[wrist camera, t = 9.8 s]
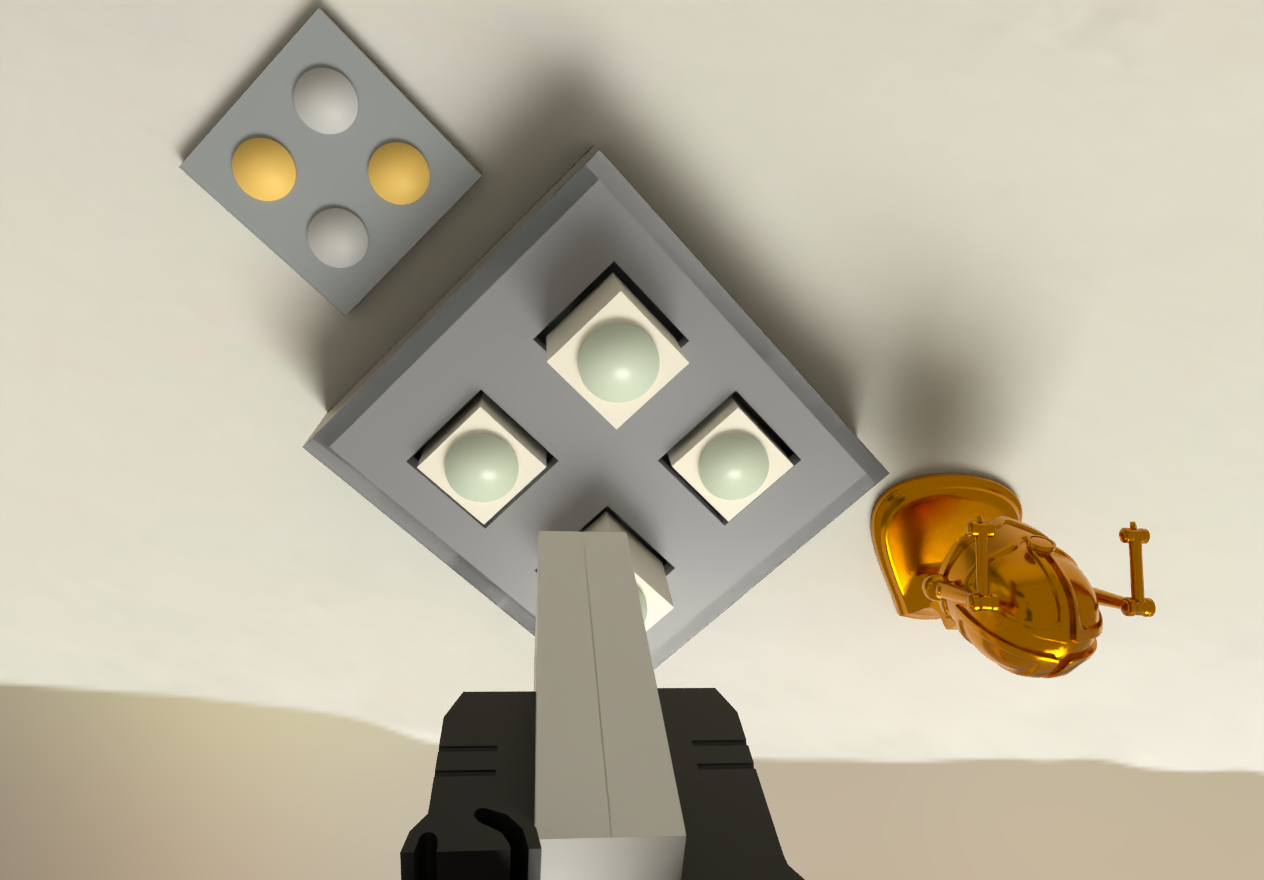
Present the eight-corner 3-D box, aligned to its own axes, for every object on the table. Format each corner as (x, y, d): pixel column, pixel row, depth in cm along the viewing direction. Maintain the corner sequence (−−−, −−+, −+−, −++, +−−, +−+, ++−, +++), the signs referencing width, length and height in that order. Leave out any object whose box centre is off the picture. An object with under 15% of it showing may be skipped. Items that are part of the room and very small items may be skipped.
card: (184, 166, 37) (177, 167, 36) (322, 9, 35) (317, 7, 34) (348, 313, 40) (344, 317, 39) (482, 175, 38) (481, 176, 37)
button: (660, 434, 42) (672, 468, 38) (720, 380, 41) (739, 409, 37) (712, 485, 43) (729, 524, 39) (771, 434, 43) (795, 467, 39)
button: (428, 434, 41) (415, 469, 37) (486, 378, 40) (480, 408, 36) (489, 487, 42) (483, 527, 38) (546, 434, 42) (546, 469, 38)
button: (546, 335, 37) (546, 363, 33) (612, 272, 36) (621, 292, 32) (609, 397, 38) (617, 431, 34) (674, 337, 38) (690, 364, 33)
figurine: (1038, 447, 46) (1197, 556, 35) (990, 618, 50) (1119, 765, 38) (887, 439, 45) (1001, 548, 34) (850, 614, 49) (941, 764, 37)
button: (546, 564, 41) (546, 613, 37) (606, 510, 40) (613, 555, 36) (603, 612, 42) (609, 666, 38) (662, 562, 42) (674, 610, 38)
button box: (326, 413, 41) (302, 447, 37) (593, 145, 38) (599, 149, 34) (609, 650, 48) (615, 701, 44) (856, 439, 45) (889, 473, 40)
